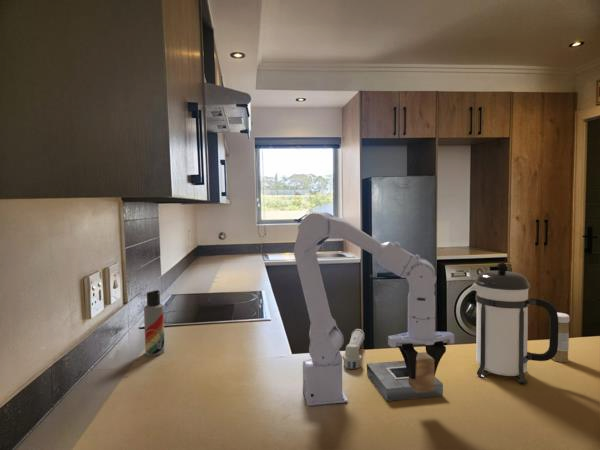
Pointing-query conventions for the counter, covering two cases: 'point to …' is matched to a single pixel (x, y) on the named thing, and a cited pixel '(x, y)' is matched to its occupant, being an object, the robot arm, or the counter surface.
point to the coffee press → (507, 324)
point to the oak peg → (423, 373)
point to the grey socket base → (397, 381)
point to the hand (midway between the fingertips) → (421, 376)
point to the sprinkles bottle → (562, 338)
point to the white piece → (353, 350)
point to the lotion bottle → (154, 324)
